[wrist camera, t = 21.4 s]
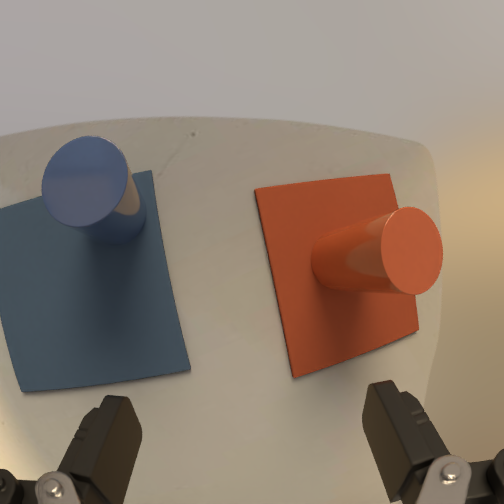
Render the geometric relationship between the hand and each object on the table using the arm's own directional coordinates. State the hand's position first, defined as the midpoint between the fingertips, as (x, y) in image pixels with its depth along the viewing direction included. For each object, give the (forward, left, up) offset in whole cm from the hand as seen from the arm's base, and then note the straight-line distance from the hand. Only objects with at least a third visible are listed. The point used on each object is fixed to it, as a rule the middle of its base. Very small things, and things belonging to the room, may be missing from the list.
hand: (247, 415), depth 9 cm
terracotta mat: (-3, +13, -15) cm, 20 cm away
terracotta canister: (-4, +12, -15) cm, 19 cm away
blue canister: (-11, -5, -15) cm, 19 cm away
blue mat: (-6, -10, -15) cm, 19 cm away
